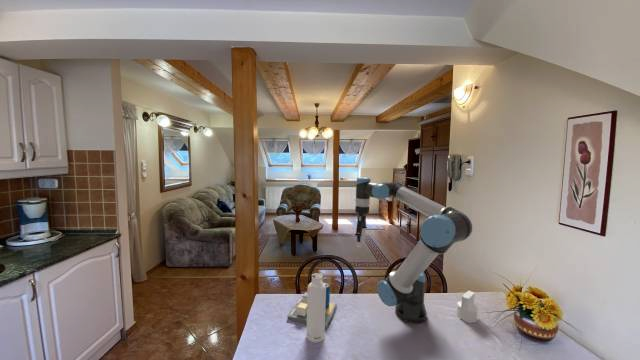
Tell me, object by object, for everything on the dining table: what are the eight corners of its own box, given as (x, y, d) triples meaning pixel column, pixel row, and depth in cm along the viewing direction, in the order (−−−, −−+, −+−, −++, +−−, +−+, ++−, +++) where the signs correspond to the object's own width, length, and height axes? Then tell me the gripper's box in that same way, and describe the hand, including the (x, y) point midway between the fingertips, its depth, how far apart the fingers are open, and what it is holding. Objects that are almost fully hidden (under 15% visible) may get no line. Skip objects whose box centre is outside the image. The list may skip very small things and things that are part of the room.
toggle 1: (307, 311, 129) (308, 304, 129) (304, 316, 125) (305, 308, 125) (300, 310, 130) (300, 302, 130) (297, 314, 126) (297, 306, 126)
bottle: (318, 345, 110) (320, 282, 107) (302, 338, 114) (304, 277, 111) (327, 333, 117) (329, 274, 114) (312, 327, 121) (314, 269, 118)
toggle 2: (312, 300, 139) (312, 293, 138) (309, 304, 135) (309, 297, 135) (305, 299, 140) (305, 292, 140) (302, 303, 136) (302, 295, 136)
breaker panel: (336, 307, 137) (336, 303, 137) (326, 329, 120) (327, 324, 120) (301, 300, 143) (301, 296, 143) (287, 319, 126) (287, 315, 126)
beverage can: (325, 312, 129) (325, 289, 128) (314, 307, 133) (314, 285, 131) (331, 305, 135) (332, 283, 134) (321, 301, 138) (321, 280, 137)
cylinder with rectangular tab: (472, 325, 126) (475, 301, 125) (453, 316, 133) (455, 293, 132) (479, 317, 132) (481, 295, 131) (460, 309, 139) (462, 288, 138)
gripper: (359, 201, 155) (357, 235, 157) (351, 209, 131) (349, 250, 134) (372, 202, 153) (370, 237, 155) (366, 210, 129) (364, 252, 131)
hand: (360, 243), depth 144 cm, fingers open, 13 cm apart
